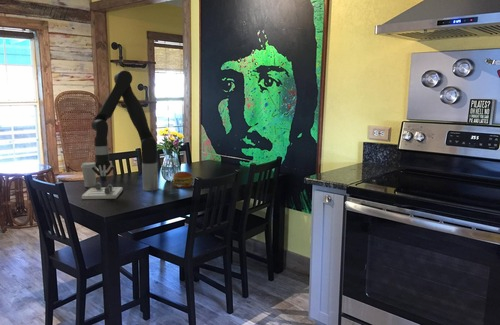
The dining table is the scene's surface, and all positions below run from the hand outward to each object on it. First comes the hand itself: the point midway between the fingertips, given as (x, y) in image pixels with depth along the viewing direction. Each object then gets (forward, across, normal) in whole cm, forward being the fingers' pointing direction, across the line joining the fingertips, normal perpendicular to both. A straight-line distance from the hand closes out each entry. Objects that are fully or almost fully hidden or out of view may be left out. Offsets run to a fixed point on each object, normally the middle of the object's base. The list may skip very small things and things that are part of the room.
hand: (104, 182), depth 247 cm
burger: (+9, -46, -16) cm, 49 cm away
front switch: (+5, -3, +6) cm, 8 cm away
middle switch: (+5, -3, 0) cm, 6 cm away
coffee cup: (+8, +14, -24) cm, 29 cm away
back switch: (+5, +5, -6) cm, 10 cm away
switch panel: (+8, +1, 0) cm, 8 cm away
